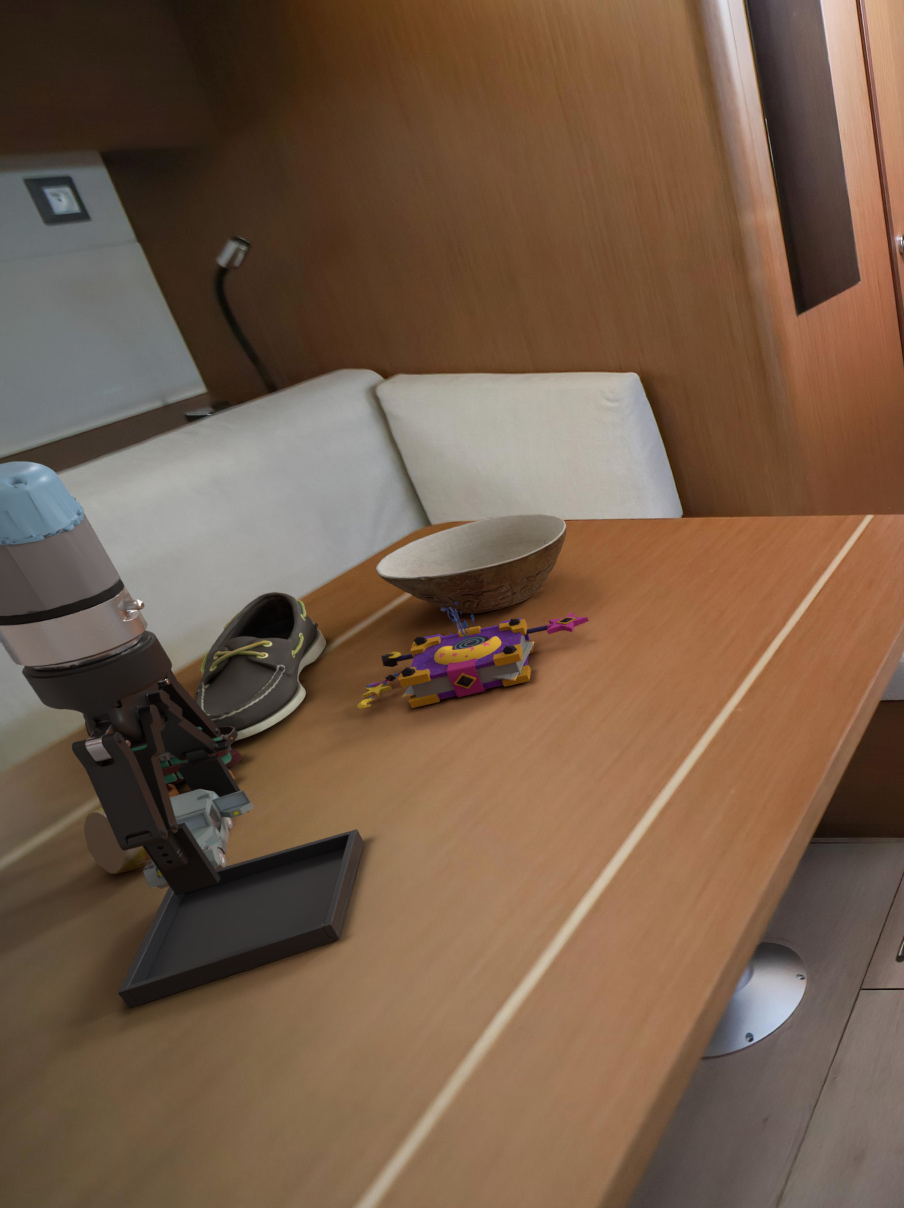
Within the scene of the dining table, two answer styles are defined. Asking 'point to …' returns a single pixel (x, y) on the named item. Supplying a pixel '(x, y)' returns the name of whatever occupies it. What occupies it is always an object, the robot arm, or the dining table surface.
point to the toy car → (204, 825)
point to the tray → (246, 918)
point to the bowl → (478, 562)
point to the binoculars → (172, 763)
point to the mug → (111, 846)
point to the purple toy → (466, 660)
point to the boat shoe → (259, 665)
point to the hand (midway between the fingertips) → (215, 849)
